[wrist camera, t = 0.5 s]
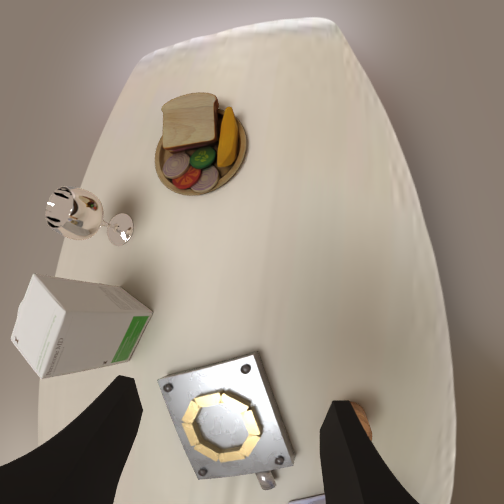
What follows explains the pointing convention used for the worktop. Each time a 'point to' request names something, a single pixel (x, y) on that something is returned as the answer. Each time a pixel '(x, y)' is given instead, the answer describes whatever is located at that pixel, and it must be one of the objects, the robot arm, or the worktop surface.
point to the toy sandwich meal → (198, 144)
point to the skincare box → (77, 325)
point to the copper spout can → (362, 418)
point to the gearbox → (228, 420)
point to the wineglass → (84, 216)
